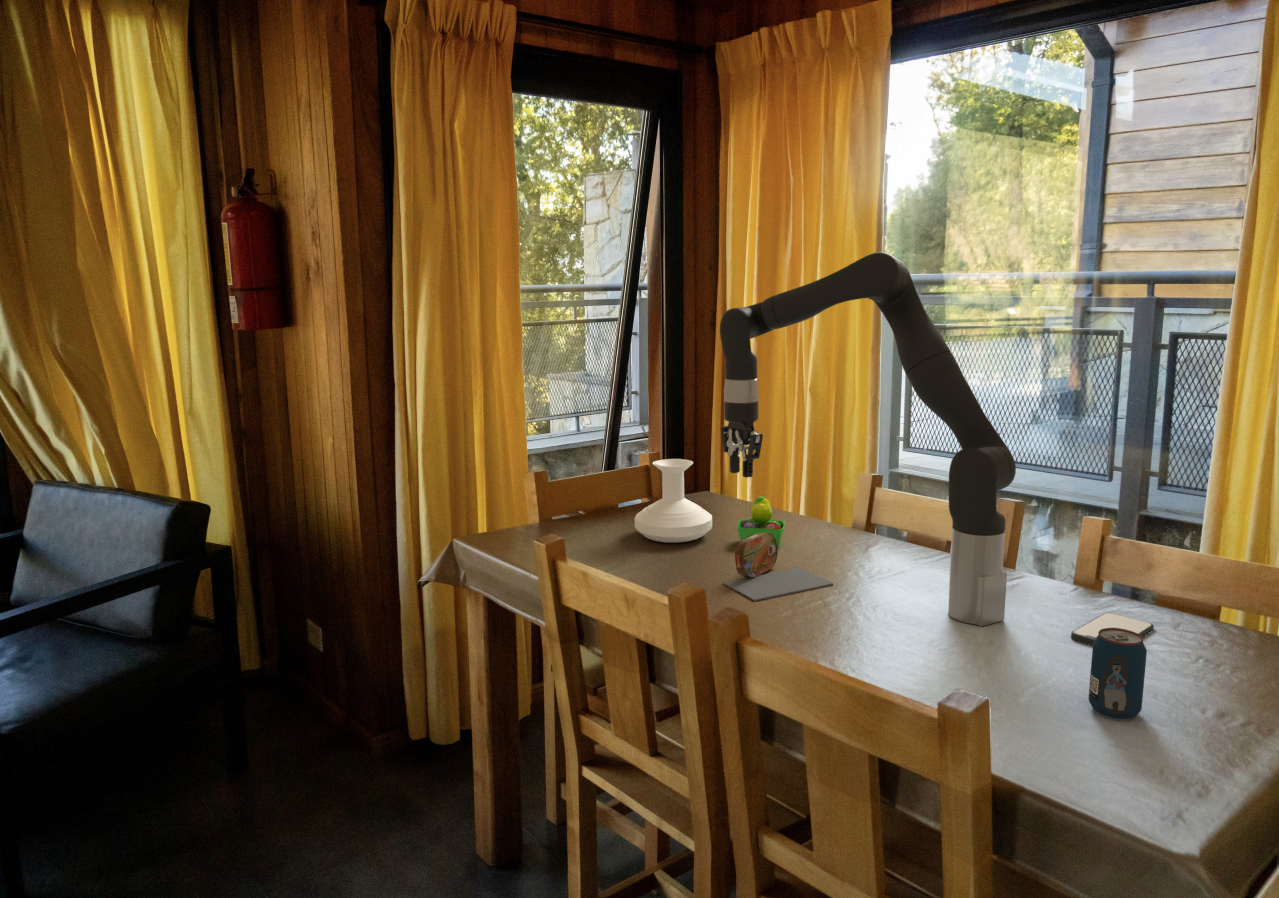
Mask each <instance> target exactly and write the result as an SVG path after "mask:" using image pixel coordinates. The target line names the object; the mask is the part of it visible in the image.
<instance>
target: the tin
mask: <svg viewBox="0 0 1279 898" xmlns="http://www.w3.org/2000/svg"><path fill="white" fill-rule="evenodd" d="M777 558H778V547H777V542H776V539H775V537H774V536H773V534H771V533H758V534H755V535H753V536H751V537H749V538H746V539H744V540H742V541H741V540H740V541H739V542H738V544H737V545H736V548H735V551H734V559H735V560H734V562H735V567H736V568H735V569H736V571H737V573H738V574H739V575H740V576H741V577H743V578H748V577H751V578H755V577H757V576H759V575H763V574H764V573H767V572H769V571H770V570H772V569H773V568H774V567H775V564H776V562H777Z"/></svg>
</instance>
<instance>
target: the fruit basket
mask: <svg viewBox="0 0 1279 898" xmlns="http://www.w3.org/2000/svg"><path fill="white" fill-rule="evenodd" d="M750 512H751V518H750V519H740V520H739V521H738V523H737V525H736V530H737V532H738V535H739V540H740V541H742V540H744V539H746V538H749V537H751V536H753V535H755V534H758V533H771V534H773V536H774V537H775V539H776V542H777V548H779V547H780V543H781V539H782V536H783V533H784V529H785V524H786V521H785V520H772V517H773V509H772V507H771V502H770V501H769V499H767V498H766V496H757V497H756V499H755V501H754V502H753V504H752V506H751V508H750Z"/></svg>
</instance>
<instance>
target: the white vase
mask: <svg viewBox="0 0 1279 898" xmlns="http://www.w3.org/2000/svg"><path fill="white" fill-rule="evenodd" d="M693 464H694V461H692V460H689V459H682V458H667V459H666V458H665V459H659V460H654V461H653V462H652V465H653V466H655V467H656V468H657V469H658V470H660V471H661V475H662V476H661V478H662V480H661V483H662V484H661V485H662V486H661V488H662V498H660V499H658V500H656V501H654V502H653V503H651V504H649V505H648V506H646V507H644V508H643V509H642V510H641V511H639V512H637V513H636V515H635V517H634V529H636V530H637V532H638V533H640V534H641V535H643V536H644V537H645V538H647V539H649V540H651V541H656V542H660V543H661V542H662V543H686V542H690V541H691V542H692V541H694V540H698V539H699V538H701V537H703V536H705V535H706V534H707V533H708V532H709V531H711V530H712V529H713V515H712V514H711V513H710V512H708V511H707V510H705V509H704V508H703V507H702V506H700V505H699V504H697V503H695V502H693V501H691V500H689V499H687V498H686V497H685V476H684V475H685V471H686V470H688V469H689V468H690V467H691V466H692V465H693Z"/></svg>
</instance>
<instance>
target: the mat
mask: <svg viewBox="0 0 1279 898" xmlns="http://www.w3.org/2000/svg"><path fill="white" fill-rule="evenodd" d="M722 584H723V585H724V586H726V587H727V586H728V587H727V588H729V587H730V588H729V589H731V588H732V589H731V590H733V589H734V590H733V591H735V590H736V591H738V592H740V593H742V594H744V595H745V596H747V597H749V598H750V599H749V598H748V599H749V600H751V599H752V600H753V602H758V600H759V601H762V599H764V600H768V599H771V598H776V597H782V596H783V597H784V596H787V595H791V594H797V593H801V592H802V593H803V592H806V591H811V590H817V589H820V588H825V587H829V586H834V582H832V581H829V580H827V579H825V578H823V577H821V576H819V575H816V574H815V573H813V572H810V571H809V570H808V571H807V570H805V569H804V568H801V567H794V568H791V569H785V570H780V571H774V572H768V573H765V574H764V573H762V574H760V575H759V576H757V577H755V578H751V577H743V578H739V579H732V580H727V581H723V582H722ZM736 591H735V592H736ZM738 592H737V593H738ZM740 593H739V594H740ZM742 594H741V595H742ZM744 595H743V596H744ZM745 596H744V597H745ZM747 597H746V598H747ZM752 600H751V601H752Z"/></svg>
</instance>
